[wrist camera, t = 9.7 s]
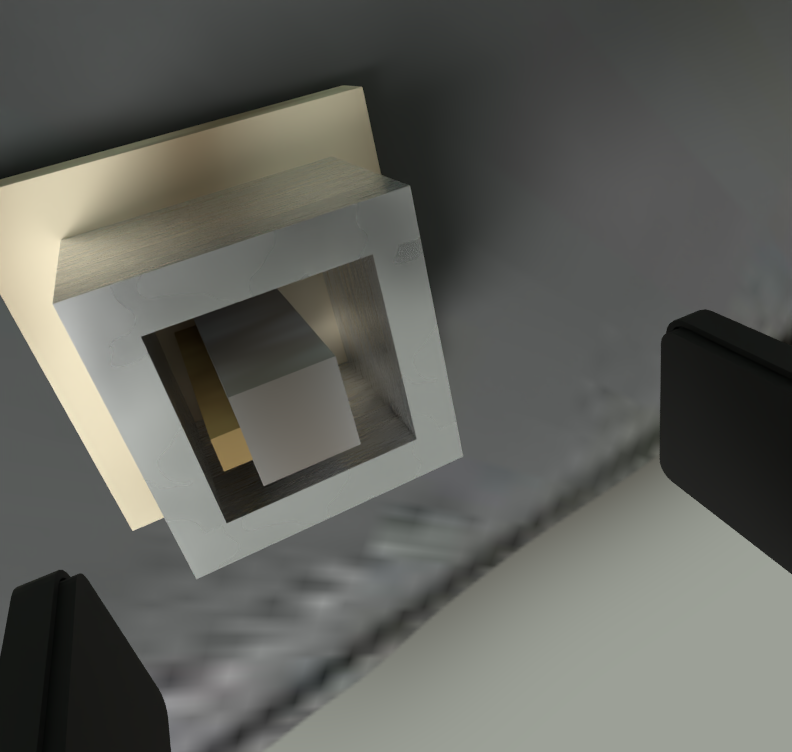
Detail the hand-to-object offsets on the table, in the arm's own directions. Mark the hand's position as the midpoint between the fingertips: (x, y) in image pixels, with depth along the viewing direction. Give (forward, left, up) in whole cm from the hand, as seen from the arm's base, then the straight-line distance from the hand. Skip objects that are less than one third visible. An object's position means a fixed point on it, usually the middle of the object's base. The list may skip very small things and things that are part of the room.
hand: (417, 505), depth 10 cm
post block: (+1, 0, -11) cm, 11 cm away
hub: (+1, 0, -10) cm, 10 cm away
